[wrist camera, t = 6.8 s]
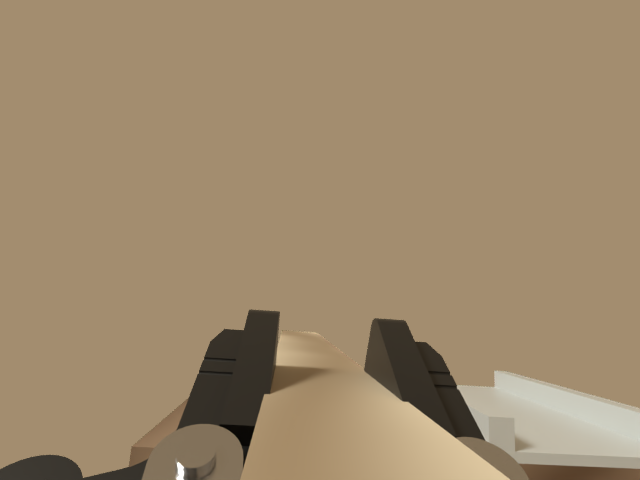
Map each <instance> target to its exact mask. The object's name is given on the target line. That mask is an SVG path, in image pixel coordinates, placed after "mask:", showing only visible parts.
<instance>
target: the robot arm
mask: <svg viewBox="0 0 640 480" xmlns="http://www.w3.org/2000/svg"><path fill="white" fill-rule="evenodd" d="M279 316H280V312H277V311H263V310H249V313H248V316H247V320H246V324H245V328H244V330H229V329H224V330H223V331H222V332H221V333H220V334H218V335H217V336H216V337H215V338H214V339H213V340H212V341H211V342H210V344H209V347H208V349H207V352H206V355H205V357H204V360H203V362H202V365H201V367H200V370H199V374H198V375H197V378H196V381H195V383H194V386H193V389H192V391H191V393H190V397H189V399H188V401H187V404H186V407H185V409H184V412H183V414H182V417H181V420H180V422H179V425H178V427H177V430H176V431H174V432H172V433H171V434H169V435H168V436H166V437H165V438H164V439H162V440H161V441H160V442H159V443H158V444H157V445H156V447H155V448H154V449H153V451H152V452H151V454H150V456H149V458H148V459H146V460H144V461H143V462H141V463H138V464H136V465H133V466H131V467H127V468H124V469H120V470H116V471H112V472H107V473H103V474H99V475H94V476H90V477H86V478H83V476H82V473H81V470H80V468H79V467H78V465H77V464H76V463H74V462H73V461H72V460H70V459H68V458H66V457H62V456H57V455H41V456H36V457H30V458H27V459H23V460H20V461H18V462H15V463H13V464H10V465H8V466H6V467H4V468H2V469H0V480H240V479H241V475H242V472H243V468H244V464H245V461H246V457H247V454H248V450H249V447H250V443H251V440H252V436H253V433H254V429H255V425H256V422H257V418H258V415H259V411H260V408H261V404H262V401H263V397H264V394H270V391H271V386H272V381H273V377H274V372H275V367H276V357H277V343H278V330H279ZM364 371H365V372H366V373H367V374H369V375H370V376H371V377H372V378H374V379H375V380H376V381H377V382H379V383H380V384H381V385H382V386H384V387H385V388H386V389H387V390H389V391H390V392H391V393H393V394H394V395H395V396H396V397H398V398H399V399H400V400H401V401H403V402H409V403H410V404H411V405H413V406H414V407H415V408H417V409H418V410H419V411H421V412H422V413H423V414H425V415H426V416H427V417H429V418H430V419H431V420H433V421H434V422H435V423H436V424H438V425H439V426H440V427H442V428H443V429H444V430H446V431H447V432H448V433H450V434H451V435H452V436H454V437H455V438H456V439H458V440H459V441H460V442H461V443H463V444H464V445H465V446H467V447H468V448H469V449H471V450H472V451H473V452H475V453H476V454H477V455H479V456H480V457H481V458H483V459H484V460H485V461H487V462H488V463H489V464H490V465H492V466H493V467H494V468H496V469H497V470H498V471H500V472H501V473H502V474H504V475H505V476H506V477H508V478H509V479H510V480H529V478H528V476H527V475H526V473H525V471H524V470H523V468H522V467H521V466H520V465H519V464H518V462H517V461H516V460H515V459H514V458H513V457H511V456H510V455H509V454H508V453H506V452H505V451H504V450H502V449H501V448H499V447H497V446H496V445H494V444H492V443H489V442H487V441H486V440H485V439H484V437H483V435H482V433H481V431H480V429H479V427H478V425H477V423H476V421H475V419H474V417H473V416H472V414H471V412H470V410H469V408H468V406H467V404H466V402H465V400H464V398H463V396H462V394H461V392H460V391H459V389H457V385H456V383H455V381H454V379H453V377H452V376H451V375H450V371H449V370H448V368H447V366H446V364H445V362H444V360H443V358H442V356H441V355H440V354H438V353H437V352H436V351H435V350H434V349H433V348H432V347H431V346H429V345H428V344H427V343H426V342H415V341H414V339H413V336H412V334H411V332H410V330H409V327H408V325H407V323H406V321H404V320H391V319H376V318H375V319H374V320H373V322H372V325H371V331H370V338H369V343H368V349H367V355H366V362H365V368H364Z"/></svg>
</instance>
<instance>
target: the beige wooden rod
mask: <svg viewBox="0 0 640 480" xmlns="http://www.w3.org/2000/svg"><path fill="white" fill-rule="evenodd" d="M240 480H510V479H509V478H508V477H506V476H505V475H504V474H502V473H501V472H500V471H498V470H497V469H496V468H494V467H493V466H492V465H490V464H489V463H488V462H487V461H485V460H484V459H483V458H481V457H480V456H479V455H477V454H476V453H475V452H473V451H472V450H471V449H469V448H468V447H467V446H465V445H464V444H463V443H461V442H460V441H459V440H458V439H456V438H455V437H454V436H452V435H451V434H450V433H448V432H447V431H446V430H444V429H443V428H442V427H440V426H439V425H438V424H436V423H435V422H434V421H433V420H431V419H430V418H429V417H427V416H426V415H425V414H423V413H422V412H421V411H419V410H418V409H417V408H415V407H414V406H413V405H411V404H410V403H409V402H403V401H401V400H400V399H399V398H398V397H396V396H395V395H394V394H393V393H391V392H390V391H389V390H387V389H386V388H385V387H384V386H382V385H381V384H380V383H379V382H377V381H376V380H375V379H374V378H372V377H371V376H370V375H369V374H367V373H366V372H365V371H364V368H363V367H361V366H360V365H359V364H357V363H356V362H355V361H353V360H352V359H351V358H349V357H348V356H347V355H346V354H344V353H343V352H342V351H340V350H339V349H338V348H336V347H335V346H334V345H332V344H331V343H330V342H328V341H327V340H326V339H324V338H323V337H322V336H320V335H319V334H318V333H315V332H299V331H285V330H282V333H281V337H280V340H279V344H278V347H277V357H276V367H275V372H274V377H273V381H272V386H271V391H270V394H264V397H263V401H262V404H261V408H260V411H259V415H258V418H257V422H256V425H255V429H254V433H253V436H252V440H251V443H250V447H249V450H248V454H247V457H246V461H245V464H244V468H243V472H242V475H241V479H240Z"/></svg>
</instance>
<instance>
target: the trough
mask: <svg viewBox="0 0 640 480" xmlns="http://www.w3.org/2000/svg"><path fill="white" fill-rule="evenodd" d="M457 389H459V391H460V392H461V394H462V396H463V398H464V400H465V402H466V404H467V406H468V408H469V410H470V412H471V414H472V416H473V417H474V419H475V421H476V423H477V425H478V427H479V429H480V431H481V433H482V435H483V437H484V439H485V440H486V441H487V442H489V443H492V444H494V445H496V446H497V447H499V448H501V449H502V450H504V451H505V452H506V453H508V454H509V455H510V456H511V457H513V458H514V459H515V460H516V461H517V462H518V464H540V465H563V466H586V467H609V468H632V469H640V408H637V407H633V406H630V405H626V404H623V403H619V402H616V401H612V400H608V399H605V398H601V397H598V396H594V395H590V394H587V393H583V392H579V391H575V390H572V389H569V388H565V387H561V386H558V385H554V384H550V383H547V382H543V381H540V380H536V379H532V378H529V377H525V376H522V375H518V374H515V373H511V372H507V371H495V387H482V386H463V385H457Z"/></svg>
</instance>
